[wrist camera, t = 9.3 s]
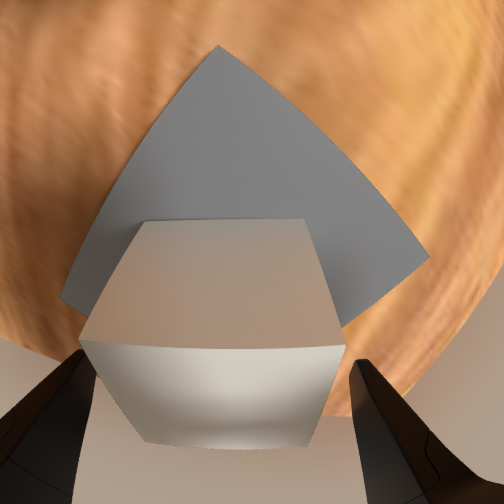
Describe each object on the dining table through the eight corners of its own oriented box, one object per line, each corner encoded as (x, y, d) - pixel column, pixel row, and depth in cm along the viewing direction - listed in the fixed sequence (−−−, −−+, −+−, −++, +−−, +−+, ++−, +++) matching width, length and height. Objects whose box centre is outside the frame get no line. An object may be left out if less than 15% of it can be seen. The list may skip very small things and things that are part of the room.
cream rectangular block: (304, 218, 11) (346, 344, 6) (286, 374, 16) (296, 471, 11) (144, 221, 11) (78, 338, 6) (181, 373, 16) (167, 468, 11)
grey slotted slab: (222, 48, 9) (198, 25, 5) (419, 243, 13) (467, 307, 9) (68, 284, 14) (29, 345, 10) (234, 381, 19) (230, 445, 15)
